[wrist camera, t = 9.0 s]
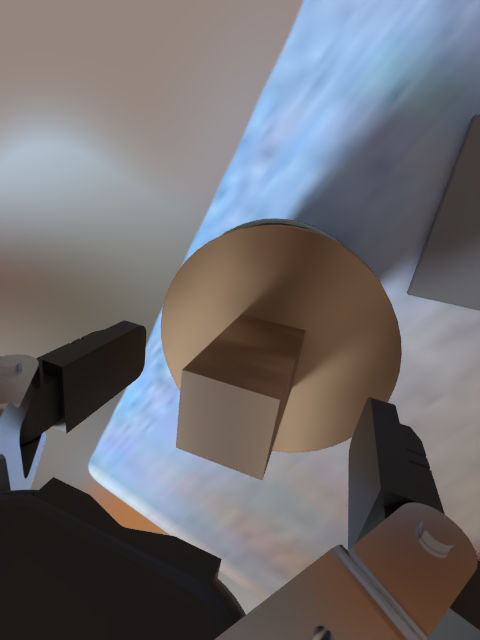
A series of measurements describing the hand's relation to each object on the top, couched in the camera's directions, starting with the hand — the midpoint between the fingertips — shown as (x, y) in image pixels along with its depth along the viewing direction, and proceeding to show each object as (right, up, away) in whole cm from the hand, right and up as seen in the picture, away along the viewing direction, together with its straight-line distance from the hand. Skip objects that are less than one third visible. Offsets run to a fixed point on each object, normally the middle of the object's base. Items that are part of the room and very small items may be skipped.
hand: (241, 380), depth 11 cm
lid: (+2, +1, +6) cm, 6 cm away
